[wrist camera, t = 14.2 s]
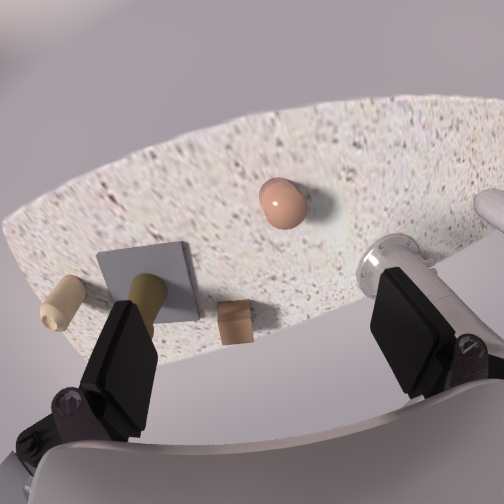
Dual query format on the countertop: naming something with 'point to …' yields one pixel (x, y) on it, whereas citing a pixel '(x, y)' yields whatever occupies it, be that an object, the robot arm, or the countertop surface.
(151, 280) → the olive tall rounded piece
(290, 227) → the peach blob
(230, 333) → the walnut block
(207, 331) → the countertop surface
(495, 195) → the soap bottle
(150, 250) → the slate tile
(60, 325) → the candle
